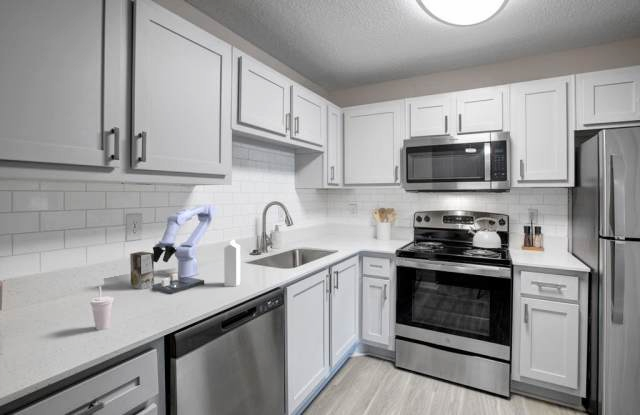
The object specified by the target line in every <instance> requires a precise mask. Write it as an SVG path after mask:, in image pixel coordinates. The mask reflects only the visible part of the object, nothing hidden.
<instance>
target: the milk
mask: <svg viewBox="0 0 640 415" xmlns="http://www.w3.org/2000/svg"><path fill="white" fill-rule="evenodd" d="M223 250H224V252H223V253H224V274H223V277H224V287H238V286H239V285H240V284H241V245H240V244H238V243H236V240H235V239H232V240H231V241H230V242H229V244H228V245H227V246H224V249H223Z"/></svg>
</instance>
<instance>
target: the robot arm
mask: <svg viewBox="0 0 640 415" xmlns="http://www.w3.org/2000/svg"><path fill="white" fill-rule="evenodd" d="M216 215H217V208H216V206H215V205H202V204H199V205H196V207H195V206H194V208H191V209H190V210H189V209H187V208H184V209H183V210H182V211H178V212H176V213H171V214H170V215H169V216H168V217H167V219H166V220H167V221H166V222H167V223H166V229H165V231H164V232H163V236H162V238H161V240H159V241H158V243H156V244H155V245H154V246H153V247H152V253H154V254H153V262H154V263H158V262H159V260H160V258H161V256H162V255H163V257H162V261H163V262H164V263H168V262H169V260H170V259H171V257H172V256H173V255H174V257H175V258H176V260H177V267H178V268H177V273H178V278H181V277H185V276H186V277H192V276H195V275H196V276H197V275H199V272H198V260H197V259H196V258H195V257H196V254H197V251H199V249H198V246H197V245H198V244H199V242H200V240H201V239H202V237H203V236H204V234H205V233H206V231H207V230H208V228H209V227H210V225H211V222H212V221H213V220H214V218H215V217H216ZM194 216H197V219H198V221H199V223H198V225H197V226H196V227H195V229H194V230H193V232H191V234H190V236H189V237H188V238H187V240H186V241H184V242H182V243H180V244H179V245H178V244H177V243H175V241H176V239H177V235H178V232H179V230H180V227H181V226H184V224H185V223H186V222H188V221H190V220H192V218H193V217H194ZM163 253H164V254H163Z"/></svg>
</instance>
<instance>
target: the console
mask: <svg viewBox="0 0 640 415" xmlns="http://www.w3.org/2000/svg"><path fill="white" fill-rule="evenodd" d="M203 285H205V280H204V279H200V278H196V277H195V278H194V277H192V276H189V277H186V276H185V277H178V280H174V281H171V280H170V285H168V286H165V287H164V286H162V282H159V283H154V285H152V287H151V289H152V290H153V291H156V292H162V293H166V294H170V295H174V294H177V293H181V292H184V291H187V290H190V289H193V288H197V287H200V286H203Z"/></svg>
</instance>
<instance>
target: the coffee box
mask: <svg viewBox="0 0 640 415" xmlns="http://www.w3.org/2000/svg"><path fill="white" fill-rule="evenodd" d="M153 254H154V252H148V251H136V252H133V253H130V254H129V256H130V257H129V258H130V260H129V261H130V287H132V288H134V289H139V290H145V289H148V288H152V285H154V284H155V282H154V281H155V280H154V279H155V277H154V276H155V275H154V269H155V268H154V265H155V264H154V263H155V262H154V261H153Z"/></svg>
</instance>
